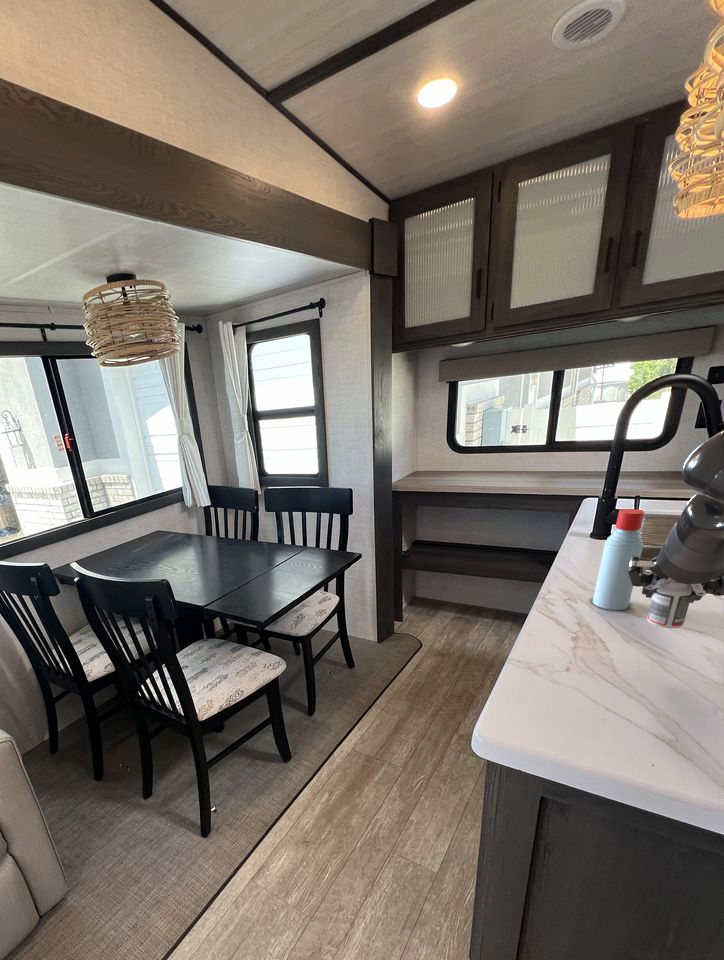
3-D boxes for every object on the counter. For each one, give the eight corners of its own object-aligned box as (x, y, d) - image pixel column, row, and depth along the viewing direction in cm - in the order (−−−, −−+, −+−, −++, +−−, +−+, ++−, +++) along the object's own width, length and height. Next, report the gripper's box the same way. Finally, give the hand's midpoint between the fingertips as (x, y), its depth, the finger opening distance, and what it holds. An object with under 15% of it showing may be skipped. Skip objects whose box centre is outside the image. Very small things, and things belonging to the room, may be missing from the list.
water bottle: (627, 600, 103) (650, 510, 95) (628, 612, 98) (652, 518, 90) (593, 596, 106) (611, 508, 98) (592, 607, 101) (611, 516, 93)
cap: (639, 526, 96) (643, 509, 94) (640, 531, 93) (644, 514, 91) (615, 524, 98) (619, 508, 96) (615, 529, 95) (619, 513, 93)
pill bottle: (678, 618, 78) (691, 571, 75) (687, 630, 74) (701, 581, 71) (643, 615, 80) (654, 569, 77) (650, 627, 76) (662, 579, 73)
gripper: (774, 526, 61) (728, 580, 75) (638, 519, 68) (619, 569, 82) (771, 578, 59) (724, 623, 73) (631, 564, 66) (613, 608, 80)
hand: (668, 594), depth 77 cm, fingers closed on pill bottle, 4 cm apart
